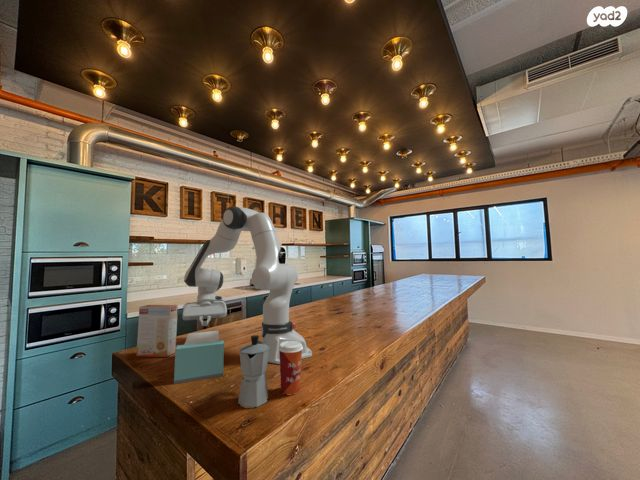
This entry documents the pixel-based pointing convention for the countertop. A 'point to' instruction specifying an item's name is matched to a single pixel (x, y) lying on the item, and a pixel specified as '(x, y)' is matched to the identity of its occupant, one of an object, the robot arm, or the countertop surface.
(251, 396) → the coffee maker
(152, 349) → the cracker box
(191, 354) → the rectangular block
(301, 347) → the paper cup
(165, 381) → the countertop surface
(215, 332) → the stone slab
